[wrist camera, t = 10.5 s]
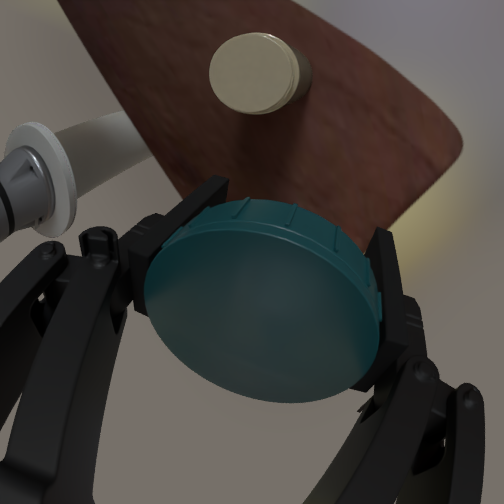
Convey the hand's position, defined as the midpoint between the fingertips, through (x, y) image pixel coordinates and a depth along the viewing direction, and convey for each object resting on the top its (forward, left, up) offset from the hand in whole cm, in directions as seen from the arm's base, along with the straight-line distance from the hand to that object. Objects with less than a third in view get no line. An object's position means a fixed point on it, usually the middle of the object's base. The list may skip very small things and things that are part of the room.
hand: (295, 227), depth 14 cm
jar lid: (0, 0, +6) cm, 6 cm away
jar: (-6, +6, -18) cm, 20 cm away
